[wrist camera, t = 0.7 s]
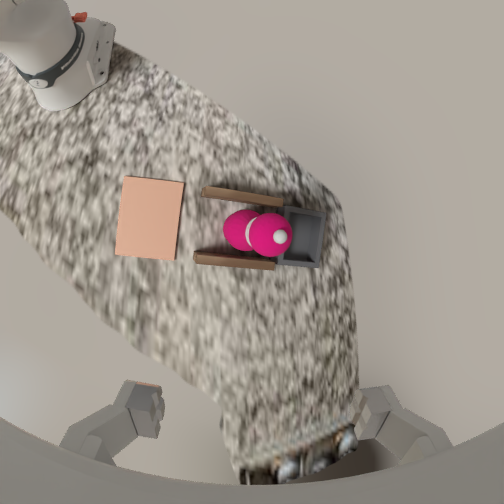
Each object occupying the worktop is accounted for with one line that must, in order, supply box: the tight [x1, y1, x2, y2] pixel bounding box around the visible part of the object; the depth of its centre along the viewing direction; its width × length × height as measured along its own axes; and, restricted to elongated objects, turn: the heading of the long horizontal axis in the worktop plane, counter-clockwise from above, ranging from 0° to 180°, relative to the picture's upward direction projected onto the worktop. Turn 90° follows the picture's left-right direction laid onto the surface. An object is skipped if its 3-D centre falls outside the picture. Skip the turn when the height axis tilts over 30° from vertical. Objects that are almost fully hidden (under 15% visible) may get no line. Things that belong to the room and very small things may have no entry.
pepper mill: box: [223, 209, 292, 257], centre depth 45 cm, size 7×7×20 cm
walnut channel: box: [193, 186, 284, 270], centre depth 51 cm, size 13×14×5 cm
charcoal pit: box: [270, 205, 326, 268], centre depth 56 cm, size 11×9×4 cm
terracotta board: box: [115, 176, 184, 260], centre depth 48 cm, size 14×11×1 cm
